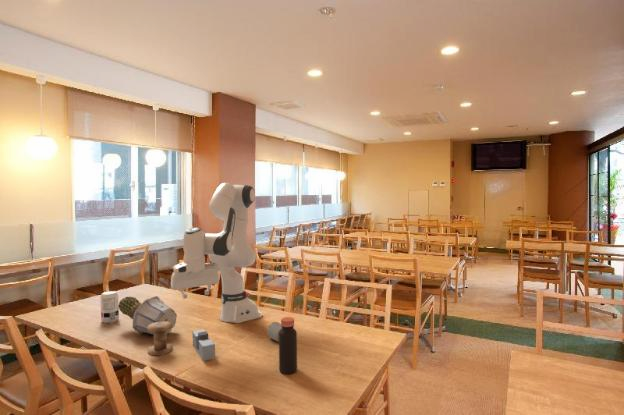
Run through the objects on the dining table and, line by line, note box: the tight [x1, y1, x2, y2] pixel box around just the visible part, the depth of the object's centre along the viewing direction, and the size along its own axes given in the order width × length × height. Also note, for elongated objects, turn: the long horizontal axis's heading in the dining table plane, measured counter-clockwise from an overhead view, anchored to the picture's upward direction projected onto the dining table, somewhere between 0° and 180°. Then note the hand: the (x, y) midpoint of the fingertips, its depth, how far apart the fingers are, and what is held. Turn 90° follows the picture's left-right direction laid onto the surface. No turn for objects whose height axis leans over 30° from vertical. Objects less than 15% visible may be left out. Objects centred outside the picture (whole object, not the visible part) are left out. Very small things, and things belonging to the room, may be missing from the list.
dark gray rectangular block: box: [198, 330, 209, 349], centre depth 163 cm, size 4×4×7 cm
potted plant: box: [118, 295, 178, 336], centre depth 186 cm, size 18×18×30 cm
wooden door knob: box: [147, 321, 174, 356], centre depth 164 cm, size 10×10×11 cm
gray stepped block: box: [192, 328, 216, 362], centre depth 163 cm, size 5×19×6 cm, turn 29°
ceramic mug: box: [266, 321, 282, 343], centre depth 175 cm, size 11×8×8 cm
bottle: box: [278, 316, 298, 375], centre depth 145 cm, size 7×7×20 cm
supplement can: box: [100, 290, 120, 324], centre depth 201 cm, size 8×8×15 cm
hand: (196, 296), depth 167 cm, fingers open, 8 cm apart
